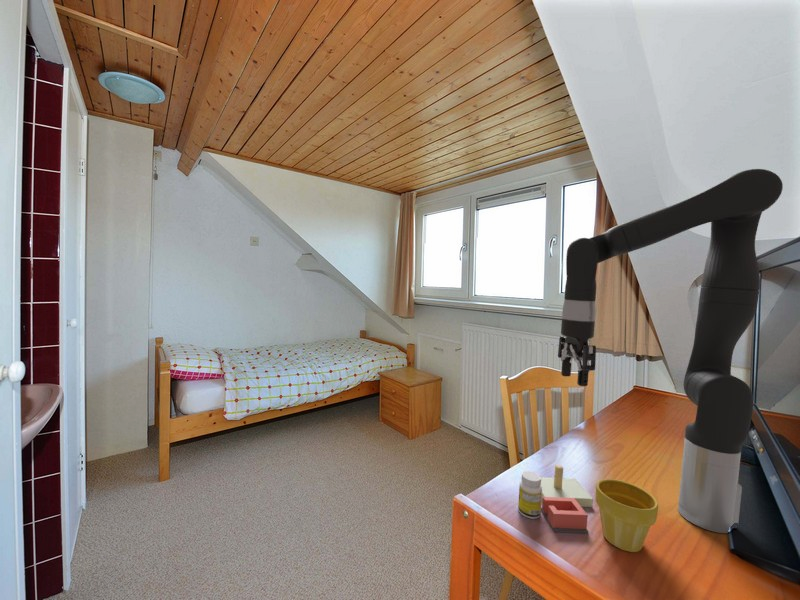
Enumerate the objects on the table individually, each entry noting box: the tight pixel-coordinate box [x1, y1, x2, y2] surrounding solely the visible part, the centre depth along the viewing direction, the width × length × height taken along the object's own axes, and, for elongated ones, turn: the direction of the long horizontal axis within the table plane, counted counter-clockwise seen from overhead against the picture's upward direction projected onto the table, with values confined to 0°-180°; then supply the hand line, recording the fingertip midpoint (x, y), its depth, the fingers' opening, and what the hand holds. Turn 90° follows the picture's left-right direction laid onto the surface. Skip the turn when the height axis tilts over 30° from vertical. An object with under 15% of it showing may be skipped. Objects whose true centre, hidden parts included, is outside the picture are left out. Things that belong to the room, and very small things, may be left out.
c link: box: [541, 497, 589, 530], centre depth 75 cm, size 7×6×3 cm
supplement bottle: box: [517, 470, 542, 520], centre depth 77 cm, size 5×5×8 cm
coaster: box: [541, 507, 589, 534], centre depth 75 cm, size 7×7×1 cm
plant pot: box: [595, 478, 659, 553], centre depth 70 cm, size 10×10×10 cm
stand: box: [540, 464, 594, 508], centre depth 84 cm, size 11×8×7 cm
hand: (573, 380), depth 90 cm, fingers open, 8 cm apart
